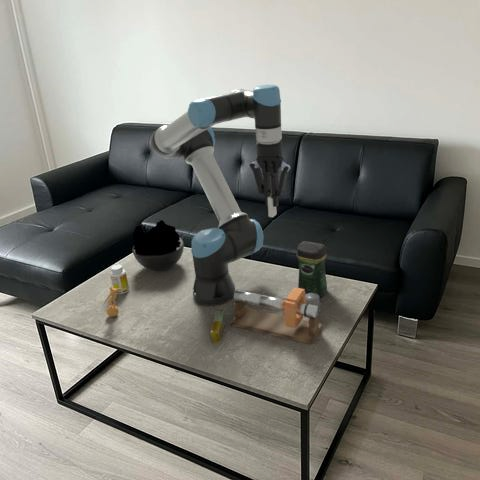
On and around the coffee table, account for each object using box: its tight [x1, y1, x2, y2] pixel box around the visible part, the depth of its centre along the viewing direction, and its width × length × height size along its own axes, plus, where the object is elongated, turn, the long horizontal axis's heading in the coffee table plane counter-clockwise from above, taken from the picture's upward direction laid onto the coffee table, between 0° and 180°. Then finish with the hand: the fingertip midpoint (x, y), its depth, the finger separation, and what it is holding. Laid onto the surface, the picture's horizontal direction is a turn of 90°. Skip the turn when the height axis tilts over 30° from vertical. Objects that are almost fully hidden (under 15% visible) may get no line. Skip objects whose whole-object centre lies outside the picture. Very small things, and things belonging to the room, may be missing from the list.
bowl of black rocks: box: [132, 219, 185, 272], centre depth 187 cm, size 20×20×19 cm
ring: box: [283, 287, 306, 328], centre depth 144 cm, size 3×10×10 cm, turn 153°
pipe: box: [233, 289, 318, 318], centre depth 147 cm, size 27×4×4 cm, turn 63°
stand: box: [230, 301, 323, 345], centre depth 149 cm, size 27×9×7 cm, turn 63°
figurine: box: [103, 286, 121, 318], centre depth 160 cm, size 8×6×12 cm
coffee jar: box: [296, 240, 328, 298], centre depth 163 cm, size 10×8×19 cm
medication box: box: [209, 309, 226, 343], centre depth 150 cm, size 12×3×4 cm, turn 174°
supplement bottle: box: [109, 264, 130, 295], centre depth 175 cm, size 6×6×10 cm
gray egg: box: [305, 293, 320, 314], centre depth 154 cm, size 5×5×6 cm
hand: (272, 215), depth 150 cm, fingers closed
